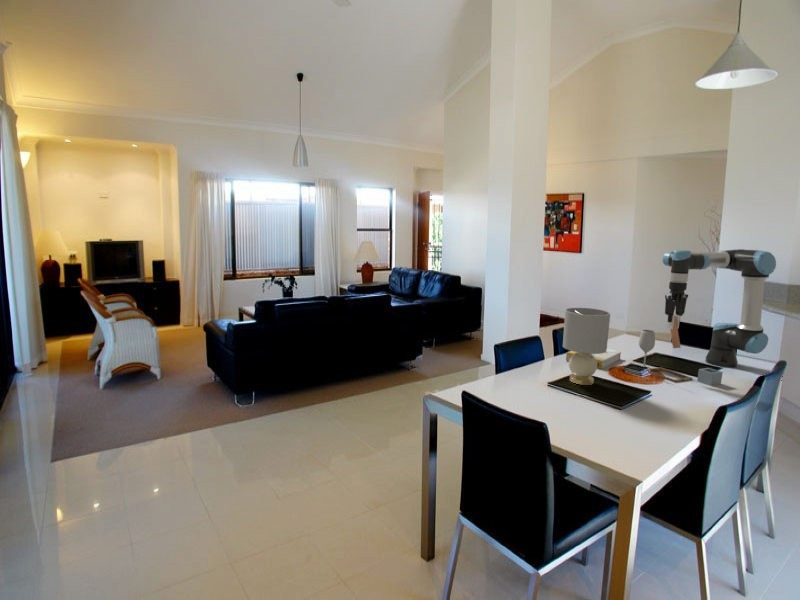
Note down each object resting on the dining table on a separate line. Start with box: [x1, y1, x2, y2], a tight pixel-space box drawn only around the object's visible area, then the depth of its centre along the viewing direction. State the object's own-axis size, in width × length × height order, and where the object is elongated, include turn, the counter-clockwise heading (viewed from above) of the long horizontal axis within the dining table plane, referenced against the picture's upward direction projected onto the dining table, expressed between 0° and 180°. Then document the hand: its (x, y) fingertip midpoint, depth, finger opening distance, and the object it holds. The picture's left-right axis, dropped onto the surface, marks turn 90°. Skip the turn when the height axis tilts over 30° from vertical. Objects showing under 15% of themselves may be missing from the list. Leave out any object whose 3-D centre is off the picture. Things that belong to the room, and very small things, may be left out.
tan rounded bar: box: [669, 315, 681, 349], centre depth 242 cm, size 8×3×16 cm, turn 22°
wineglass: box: [638, 329, 656, 367], centre depth 260 cm, size 8×8×21 cm
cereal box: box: [565, 348, 622, 370], centre depth 276 cm, size 20×6×28 cm
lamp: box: [562, 307, 611, 386], centre depth 235 cm, size 20×20×35 cm
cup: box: [696, 367, 723, 387], centre depth 237 cm, size 7×7×8 cm
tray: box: [644, 366, 693, 386], centre depth 247 cm, size 12×18×2 cm, turn 22°
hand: (672, 328), depth 243 cm, fingers closed on tan rounded bar, 3 cm apart
